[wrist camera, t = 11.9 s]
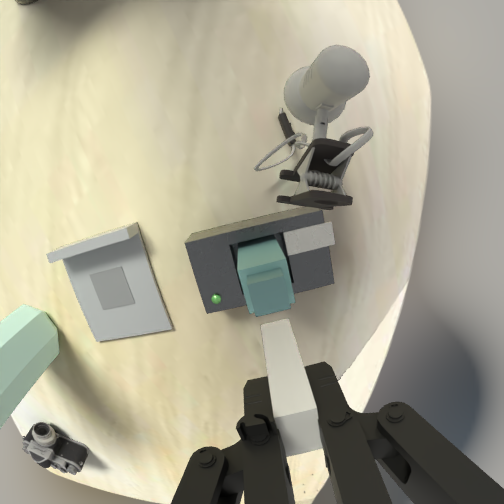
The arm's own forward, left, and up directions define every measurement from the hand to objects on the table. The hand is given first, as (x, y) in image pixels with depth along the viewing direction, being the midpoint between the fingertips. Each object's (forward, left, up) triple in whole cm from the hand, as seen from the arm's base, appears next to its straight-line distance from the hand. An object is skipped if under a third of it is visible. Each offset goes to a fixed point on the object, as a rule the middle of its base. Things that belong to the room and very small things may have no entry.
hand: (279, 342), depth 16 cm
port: (+1, 0, -20) cm, 20 cm away
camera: (+29, -49, -20) cm, 60 cm away
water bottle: (+5, -36, -20) cm, 41 cm away
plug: (+1, 0, -19) cm, 19 cm away
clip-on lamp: (-11, +6, -20) cm, 23 cm away
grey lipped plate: (+1, -19, -20) cm, 27 cm away
